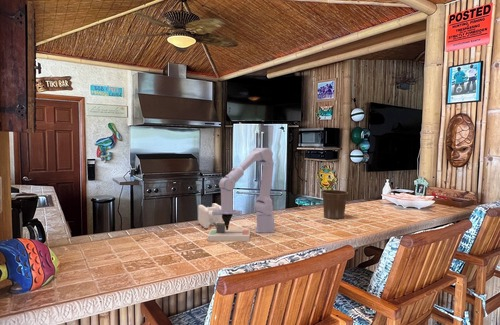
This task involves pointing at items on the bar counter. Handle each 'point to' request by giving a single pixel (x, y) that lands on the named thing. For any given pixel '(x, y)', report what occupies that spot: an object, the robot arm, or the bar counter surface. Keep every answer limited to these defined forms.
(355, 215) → the bar counter surface
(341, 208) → the plant pot
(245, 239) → the switch plate
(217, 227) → the knob
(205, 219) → the cable organizer
